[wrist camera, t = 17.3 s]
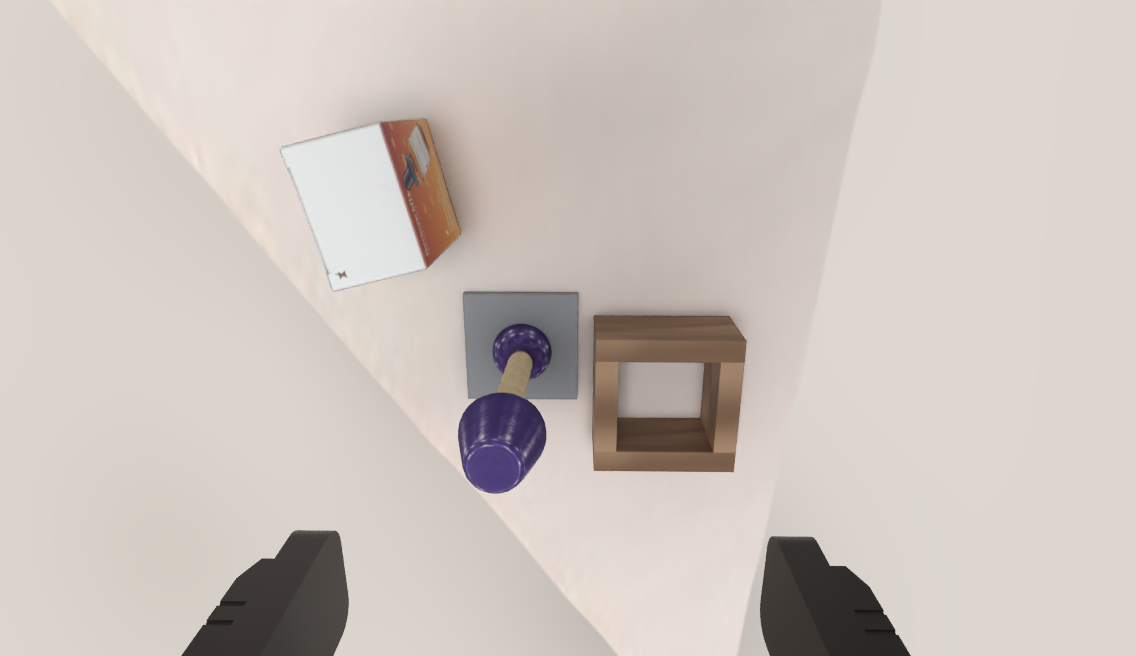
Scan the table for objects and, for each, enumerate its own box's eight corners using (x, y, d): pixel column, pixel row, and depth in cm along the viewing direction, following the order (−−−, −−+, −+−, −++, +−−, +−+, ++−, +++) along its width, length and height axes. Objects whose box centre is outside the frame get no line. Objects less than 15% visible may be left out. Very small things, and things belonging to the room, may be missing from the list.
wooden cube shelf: (594, 315, 46) (595, 340, 42) (729, 316, 46) (746, 341, 42) (592, 435, 50) (593, 470, 45) (718, 436, 49) (733, 471, 45)
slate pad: (464, 292, 46) (462, 294, 45) (577, 292, 46) (577, 295, 45) (469, 395, 49) (468, 398, 48) (576, 395, 48) (576, 399, 48)
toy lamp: (477, 334, 46) (425, 455, 31) (533, 303, 46) (510, 411, 30) (512, 387, 48) (480, 530, 32) (567, 358, 47) (562, 490, 31)
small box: (462, 234, 45) (430, 273, 35) (385, 253, 45) (331, 296, 35) (427, 115, 42) (381, 120, 32) (346, 136, 43) (275, 147, 33)
